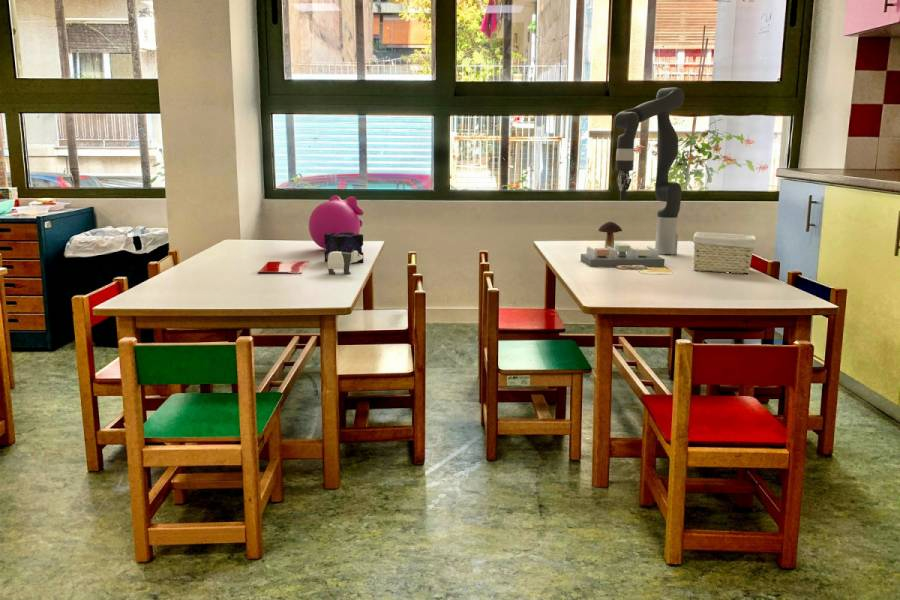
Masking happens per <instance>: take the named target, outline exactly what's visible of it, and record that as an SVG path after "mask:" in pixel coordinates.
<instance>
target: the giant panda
mask: <svg viewBox="0 0 900 600" xmlns="http://www.w3.org/2000/svg"><path fill="white" fill-rule="evenodd" d="M362 258H363V259H364V255H363V256H362V255H360V254H359V253H358V252H357V251H354V250H352V252H351V253H347V252H337V251H335V252H330V253H329V254H327V255H326V259H328V262H327V270H328V275H330V276H331V275H333V276H335V275H336V271H335V270H343V274H344V275H351V274H352V273H351V271H350V267H351V264H353V262H357V261H359V260H361V259H362Z"/></svg>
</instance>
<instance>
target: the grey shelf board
mask: <svg viewBox="0 0 900 600" xmlns="http://www.w3.org/2000/svg"><path fill="white" fill-rule="evenodd" d="M646 248H647V249H650V255H647V256H646V257H639V255H638V250H636V249H635V248H634V247H631V246H630V252H626V256H619V252H618V250H616V249H615V247H614V248H611V247H607V249H609V256H605V257H598V255H597V250H595V248H593V247H591V246H587V247H586V253H580V261H581V262H582V263H584V264H586V265H587V266H589V267H593V268H594V267H595V268H599V267H600V268H601V267H605V268H606V267H607V268H608V267H609V268H610V267H615V268H616V266H619V265H629V266H632V265H642V266H646V267H665V262H666V261H665V258H662V257H660V256H659V255H660V254H659V250H657V249H655V248H654V247H652V246H646Z"/></svg>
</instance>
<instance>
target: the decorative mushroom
mask: <svg viewBox="0 0 900 600" xmlns="http://www.w3.org/2000/svg"><path fill="white" fill-rule="evenodd" d="M597 231H598V232H600V233H601V232H602V233H606V236H605V243H604V248H607V247H611V248H614V249H615V238H614V236H615V235H614V234H615V233H619V232H623V229H622V227H621V226H619V224H617V223H616V222H613V221H608V222H605V223H604V224H602V225H601V226H600V227H599V228H598V230H597Z"/></svg>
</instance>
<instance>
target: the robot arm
mask: <svg viewBox="0 0 900 600" xmlns="http://www.w3.org/2000/svg"><path fill="white" fill-rule="evenodd" d="M684 100H685V93H684V91H683V89H682V88H679V87H662V88H659V90H658V91H657V93H656V96H655V99H653V100H650V101H646V102H642V103H641V104H639V105H637V106H635V107H633V108H629V109H625V110H622V111H620V112H618V113H617V114H616V115H615V117H614V120H613V121H614V125H615V126H616V128H617V129H621V130H624V129H625V131H624V133H622V134H619V135H618V137H617V144H616V152H615V153H616V154H615V171H617V172H618V175H617V177H615V178H616V179H615V180H616V183H617V189H618V190H619V200H620V201H623V200H624V201H625V200H626V199H627V191H628V190H629V189H630V185H631V183H632V178H631V175H630V171H631V172H632V171H634V159H635V151H634V147H635V138H636V134H637V131H638V128H639V125H640V123H643V122H644V121H647V120H649V119H651V118H652V117H654V116H656V117H657V119H656V120H657V140H656V141H657V144H656V145H657V146H656V148H657V149H656V150H657V151H656V152H657V159H656V161H657V162H656V177H655V188H654V195H655V198H656V200H657V201H659V202H664V203H665V206H664V207H663V208H662V209H659V210H658V211H657V217H656V229H655V231H656V232H655V243H654V245H655V246H654V247H655V248H654V249H657V250H659V255H665V254H671V255H677V254H678V253H677V252H678V244H679V241H678V239H679V233H677V230H678V217H679V212H680V210H681V209H680V208H681V203H682V202H681V201H682V193H683V192H682V191H683V190H682V186H681V184H680V183H678V182H674V181H669V175H670V174H669V173H670V170H671V167H672V165H673V163H674V162H675V161H676V159H677V156H678V154H679V136H678V134H677V132H676V130H675V128H674V127H673V124H672V123H671V119H670V111H671V110H674V109H678V108H680V107H681V106H682V105H683V104H684V102H685V101H684Z"/></svg>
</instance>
